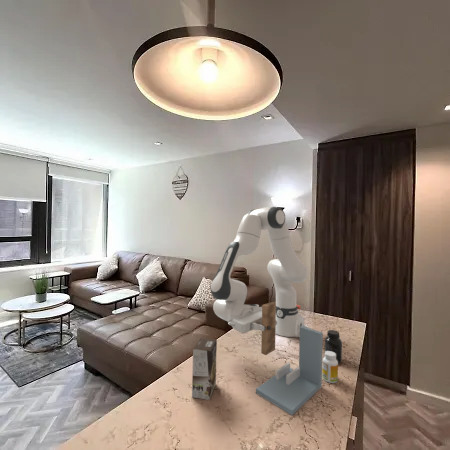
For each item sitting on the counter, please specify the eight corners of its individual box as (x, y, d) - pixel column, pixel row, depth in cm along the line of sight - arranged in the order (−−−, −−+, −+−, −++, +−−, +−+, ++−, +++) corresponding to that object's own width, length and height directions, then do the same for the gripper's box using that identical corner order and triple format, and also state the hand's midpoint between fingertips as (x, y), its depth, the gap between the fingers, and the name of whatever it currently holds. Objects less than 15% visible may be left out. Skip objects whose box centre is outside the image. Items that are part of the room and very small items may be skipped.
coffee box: (210, 400, 82) (211, 351, 82) (191, 397, 83) (192, 348, 83) (216, 383, 91) (217, 338, 91) (199, 381, 92) (200, 336, 92)
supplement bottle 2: (338, 377, 96) (338, 352, 96) (336, 385, 91) (337, 358, 91) (323, 373, 99) (324, 348, 99) (321, 380, 94) (321, 354, 94)
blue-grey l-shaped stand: (287, 370, 100) (288, 321, 100) (321, 387, 90) (322, 332, 90) (255, 392, 86) (256, 335, 86) (292, 415, 76) (293, 351, 76)
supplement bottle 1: (326, 354, 114) (326, 327, 114) (342, 358, 110) (343, 331, 110) (323, 360, 108) (323, 332, 108) (340, 365, 104) (341, 336, 104)
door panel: (270, 347, 98) (271, 302, 98) (277, 351, 96) (278, 303, 96) (261, 353, 94) (262, 305, 94) (268, 356, 92) (269, 307, 92)
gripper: (225, 314, 98) (253, 324, 88) (258, 303, 112) (285, 311, 102) (225, 330, 98) (252, 342, 88) (258, 317, 112) (285, 327, 102)
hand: (270, 325), depth 95 cm, fingers closed on door panel, 6 cm apart
